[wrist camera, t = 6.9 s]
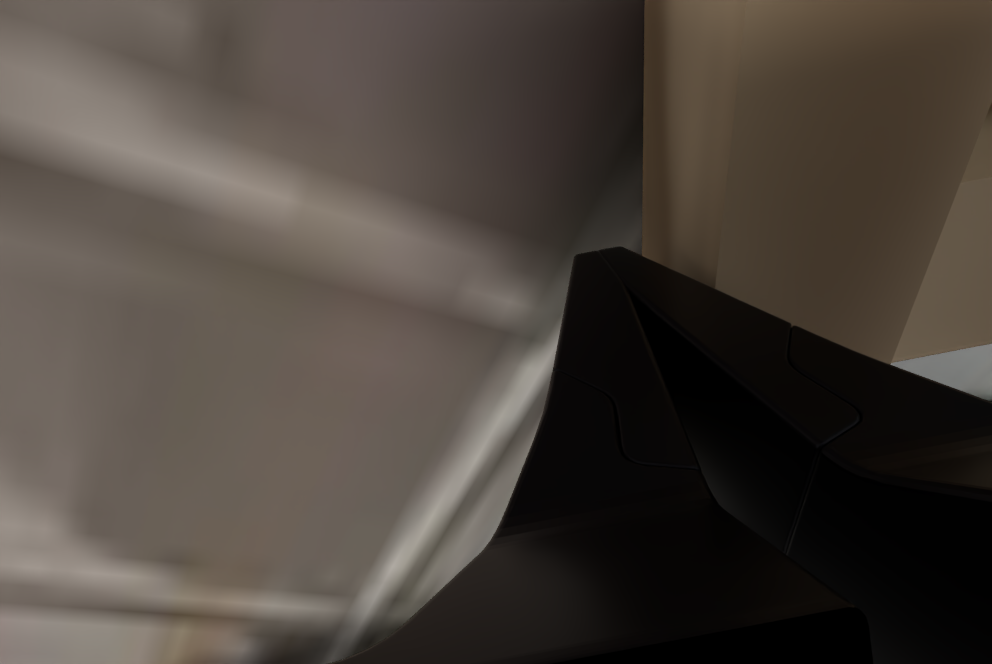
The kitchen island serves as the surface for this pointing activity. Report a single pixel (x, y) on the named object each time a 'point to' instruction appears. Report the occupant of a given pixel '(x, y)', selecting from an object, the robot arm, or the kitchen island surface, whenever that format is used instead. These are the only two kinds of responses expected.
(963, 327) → the t block
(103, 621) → the kitchen island surface
